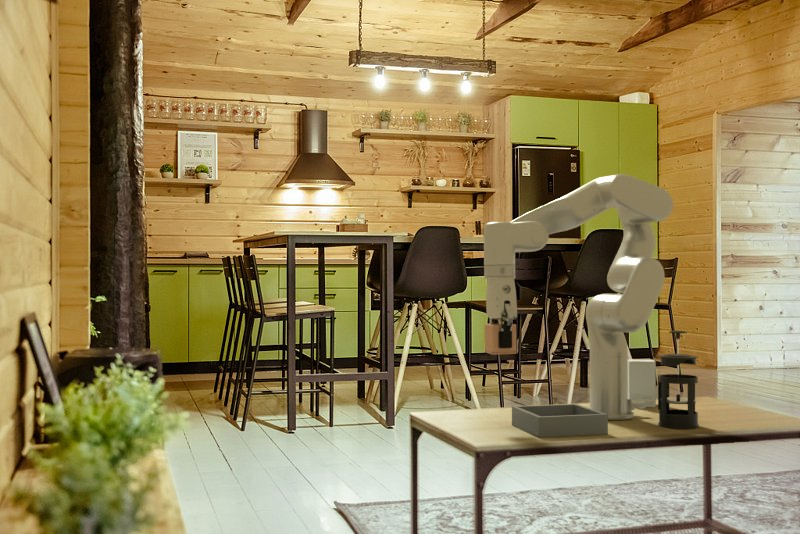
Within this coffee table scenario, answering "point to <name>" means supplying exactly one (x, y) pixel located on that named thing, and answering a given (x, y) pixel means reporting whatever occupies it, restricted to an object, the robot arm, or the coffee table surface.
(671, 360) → the french press
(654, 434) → the coffee table surface
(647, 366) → the supplement box
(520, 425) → the grey square tray
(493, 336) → the small crate
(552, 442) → the coffee table surface
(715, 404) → the coffee table surface
